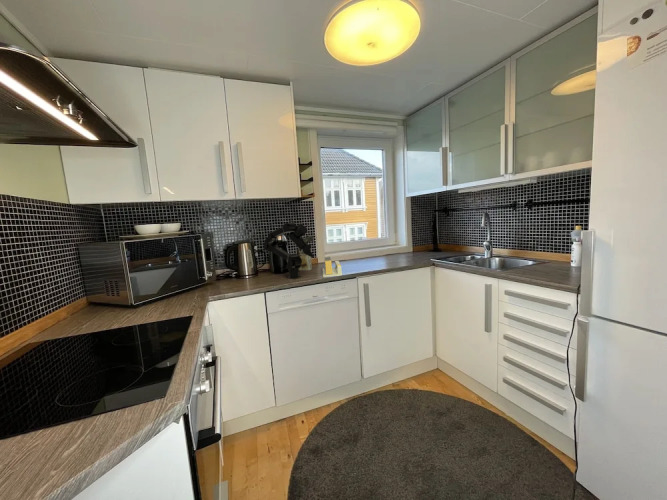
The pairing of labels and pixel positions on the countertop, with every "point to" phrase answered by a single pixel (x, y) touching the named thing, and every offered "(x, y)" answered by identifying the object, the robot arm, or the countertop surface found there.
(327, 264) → the ochre key
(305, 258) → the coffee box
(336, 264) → the key console
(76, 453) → the countertop surface
